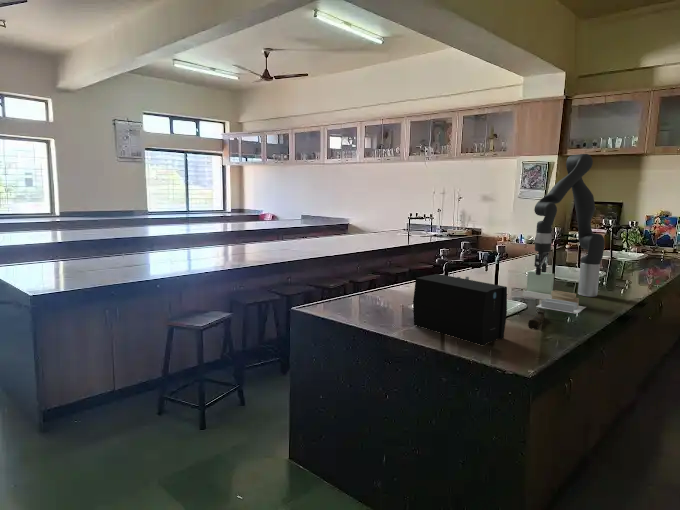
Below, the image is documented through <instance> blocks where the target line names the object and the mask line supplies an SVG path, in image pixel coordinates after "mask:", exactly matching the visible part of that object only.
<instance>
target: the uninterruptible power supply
mask: <svg viewBox="0 0 680 510" xmlns="http://www.w3.org/2000/svg"><path fill="white" fill-rule="evenodd" d="M414 282H415V283H414V292H413V299H412V300H413V301H412V310H413V311H412V313H413V326H414V325H417V326H416V327H418V326H420V327H419V328H421V327H424V328H427V329H430V330H429V331H431V330H433V331H432V332H434V331H437V332H440V333H439V334H441V333H443V334H442V335H444V334H447V335H450V336H449V337H451V336H454V337H457V338H460V339H459V340H461V339H463V340H462V341H464V340H467V341H470V342H469V343H471V342H473V343H472V344H474V343H477V344H480V345H485V344H486V343H487V344H489V343H488V342H490V343H492V342H495V341H497V340H496V339H498V340H503V339H504V337H505V328H506V323H507V314H508V313H507V312H508V286H505V285H499V284H494V283H489V282H482V281H477V280H473V279H469V280H468V279H465V278H461V277H460V278H457V276H451V275H446V274H441V273H440V274H439V273H435V274H429V275H424V276H420V277H418V276H417V277H415V281H414ZM424 328H423V329H424ZM427 329H426V330H427ZM437 332H436V333H437ZM447 335H446V336H447ZM454 337H453V338H454ZM457 338H456V339H457ZM502 338H503V339H502ZM494 340H495V341H494ZM467 341H466V342H467ZM491 341H492V342H491ZM477 344H476V345H477ZM487 344H486V345H487ZM480 345H479V346H480ZM486 345H485V346H486Z"/></svg>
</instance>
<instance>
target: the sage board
mask: <svg viewBox="0 0 680 510" xmlns="http://www.w3.org/2000/svg"><path fill="white" fill-rule="evenodd" d="M526 279H527V280H526V290H525V291H531V292H537V293H544V294H550V295H551V292H552V291H554V282H555V281H554V280H555V273H552V272H551V273H550V272H545V273H544V272H541V275H536V270H528V271H527V278H526Z"/></svg>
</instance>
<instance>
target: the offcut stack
mask: <svg viewBox="0 0 680 510" xmlns="http://www.w3.org/2000/svg"><path fill="white" fill-rule="evenodd" d="M551 296H552V299H556V300H563V301H569V302H575V303H578V306H580V305H579V304H580V302H579V301H580V298H579V297H577V293H573V292H568V291H567V292H566V291H561V290H556V289H555V290H554V289H553V291H552V292H551Z"/></svg>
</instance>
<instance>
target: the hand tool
mask: <svg viewBox="0 0 680 510" xmlns="http://www.w3.org/2000/svg"><path fill="white" fill-rule="evenodd" d="M545 314H546V313H545V310H544V308H541V309H540V310H537V313H536V314H535V316H534V317H533V318H532V319H529V320H528V323H527V326H528V328H529V329H532V328H534V330H538V328H539V325H540V324H542V323H543V322H544V320H545Z"/></svg>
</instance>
